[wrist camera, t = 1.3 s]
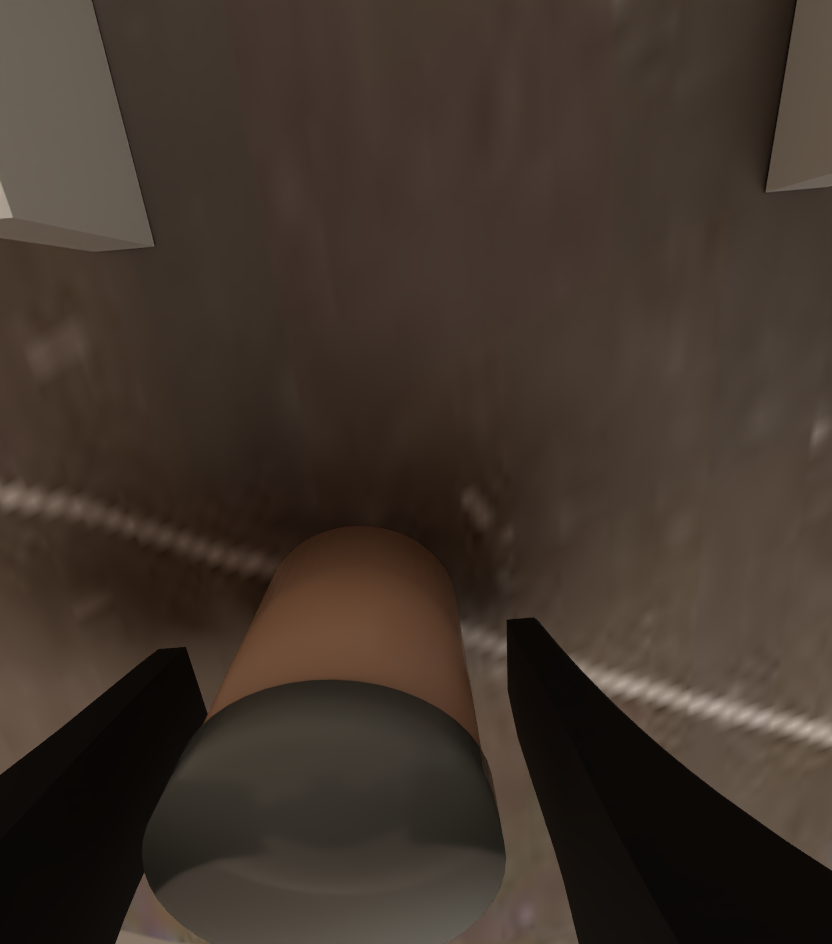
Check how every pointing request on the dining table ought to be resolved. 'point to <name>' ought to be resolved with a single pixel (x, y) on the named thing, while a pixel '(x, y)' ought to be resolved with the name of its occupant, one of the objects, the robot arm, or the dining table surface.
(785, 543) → the dining table surface
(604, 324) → the dining table surface
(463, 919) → the terracotta jar
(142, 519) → the dining table surface
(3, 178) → the u-frame with teal panels
